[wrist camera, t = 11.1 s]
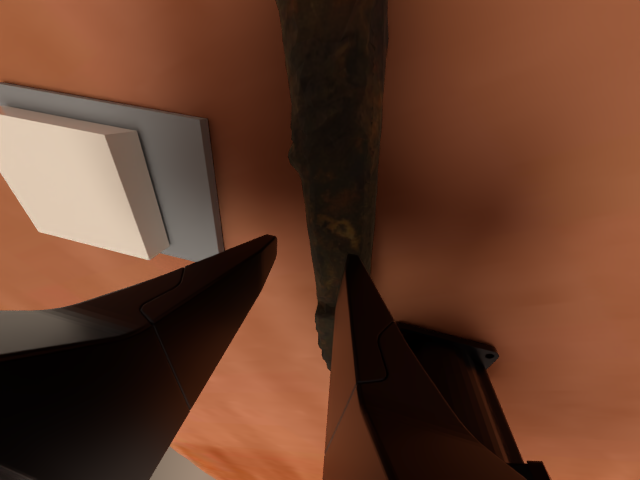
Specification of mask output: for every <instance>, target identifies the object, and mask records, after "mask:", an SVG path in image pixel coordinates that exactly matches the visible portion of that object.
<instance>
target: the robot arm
mask: <svg viewBox="0 0 640 480" xmlns="http://www.w3.org/2000/svg"><path fill="white" fill-rule="evenodd" d="M276 255H277V237H276V236H272V235H268V234H266V235H264V236H261V237H259V238H256V239H253V240H251V241H248V242H246V243H243V244H241V245H238V246H236V247H233V248H231V249H228V250H226V251H223V252H221V253H218V254H215V255H213V256H210V257H208V258H205V259H203V260H200V261H198V262H195V263H193V264H190V265H188V266H185V268H180V269H177V270H175V271H172V272H170V273H167V274H164V275H162V276H159V277H156V278H154V279H151V280H148V281H145V282H142V283H139V284H136V285H133V286H130V287H127V288H124V289H121V290H118V291H115V292H112V293H108V294H105V295H102V296H99V297H96V298H93V299H90V300H87V301H84V302H81V303H77V304H74V305H70V306H66V307H61V308H55V309H48V310H33V311H0V480H149V479H150V477H151V476H152V474H153V472H154V471H155V469H156V467H157V466H158V464H159V462H160V461H161V459H162V457H163V456H164V454H165V452H166V451H167V449H168V447H169V446H170V444H171V442H172V441H173V439H174V437H175V435H176V434H177V432H178V430H179V429H180V427H181V425H182V424H183V422H184V420H185V419H186V417H187V415H188V414H189V412H190V409H191V408H192V407H193V405H194V403H195V402H196V400H197V398H198V397H199V395H200V393H201V391H202V390H203V388H204V386H205V385H206V383H207V381H208V380H209V378H210V376H211V375H212V373H213V371H214V370H215V368H216V366H217V365H218V363H219V361H220V360H221V358H222V356H223V354H224V353H225V351H226V349H227V348H228V346H229V344H230V343H231V341H232V339H233V338H234V336H235V334H236V333H237V331H238V329H239V328H240V326H241V324H242V323H243V321H244V319H245V317H246V316H247V314H248V312H249V311H250V309H251V307H252V306H253V304H254V302H255V301H256V299H257V297H258V296H259V294H260V292H261V290H262V288H263V286H264V284H265V282H266V279H267V277H268V275H269V272H270V270H271V268H272V266H273V263H274V261H275V259H276ZM498 357H499V355H498V353H497V350H496V349H495V348H494V347H492V346H489V345H485V344H481V343H477V342H474V341H470V340H466V339H462V338H458V337H454V336H450V335H446V334H442V333H438V332H435V331H431V330H427V329H423V328H419V327H415V326H411V325H407V324H403V323H399V324H396V323H395V322H394V319H393V318H392V316H391V314H390V312H389V310H388V308H387V307H386V305H385V303H384V301H383V299H382V298H381V296H380V294H379V292H378V290H377V288H376V287H375V285H374V283H373V281H372V279H371V277H370V276H369V274H368V272H367V270H366V268H365V267H364V265H363V263H362V261H361V259H360V257H359V256H358V255H354V254H350V253H349V254H347V258H346V262H345V266H344V270H343V274H342V279H341V284H340V289H339V294H338V298H337V303H336V309H335V320H334V334H333V347H332V361H331V374H330V388H329V401H328V415H327V428H326V442H325V456H324V468H323V480H551V478H550V476H549V474H548V472H547V470H546V468H545V466H544V464H543V462H542V461H527V463H528V464H524V461H523V459H522V457H521V454H520V452H519V449H518V447H517V444H516V442H515V439H514V437H513V435H512V432H511V430H510V427H509V425H508V422H507V420H506V417H505V415H504V413H503V410H502V408H501V405H500V403H499V400H498V398H497V396H496V393H495V391H494V388H493V386H492V383H491V381H490V378H489V376H488V374H487V371H486V369H487V368H488V367H490V366H491V365H492V364H493V363H494V362H495V361H496V360H497V359H498Z"/></svg>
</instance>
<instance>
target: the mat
mask: <svg viewBox="0 0 640 480" xmlns="http://www.w3.org/2000/svg"><path fill="white" fill-rule="evenodd" d="M0 106H9V107H14V108H19V109H24V110H30V111H35V112H40V113H45V114H51V115H56V116H61V117H66V118H71V119H77V120H82V121H87V122H92V123H98V124H103V125H108V126H113V127H119V128H124V129H129V130H134V131H137V134H138V137H139V141H140V144H141V147H142V151H143V154H144V158H145V161H146V165H147V168H148V172H149V175H150V179H151V182H152V186H153V189H154V193H155V196H156V200H157V203H158V207H159V210H160V214H161V217H162V221H163V224H164V228H165V231H166V235H167V238H168V242H169V245H170V246H169V247H168V248H166V249H165V250H164V251H162V252H161V253H162V254H166V255H170V256H174V257H178V258H182V259H186V260H190V261H194V262H198V261H200V260H203V259H205V258H208V257H210V256H213V255H215V254H218V253H221V252H223V251H224V245H223V237H222V229H221V221H220V213H219V205H218V198H217V190H216V182H215V174H214V166H213V158H212V150H211V143H210V135H209V127H208V119H206V118H201V117H195V116H189V115H184V114H178V113H173V112H167V111H161V110H156V109H150V108H144V107H139V106H133V105H128V104H122V103H116V102H111V101H105V100H99V99H94V98H88V97H82V96H77V95H71V94H66V93H60V92H54V91H49V90H43V89H37V88H32V87H26V86H21V85H15V84H9V83H4V82H0Z"/></svg>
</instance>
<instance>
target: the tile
mask: <svg viewBox="0 0 640 480" xmlns="http://www.w3.org/2000/svg"><path fill="white" fill-rule="evenodd" d="M0 173H1V174H2V176H3V177H4V179H5V180H6V182H7V184H8V185H9V187H10V188H11V190H12V191H13V193H14V194H15V196H16V197H17V199H18V201H19V202H20V204H21V205H22V207H23V208H24V210H25V211H26V213H27V214H28V216H29V218H30V219H31V221H32V222H33V224H34V225H35V227H36V228H37V230H38V231H39V232H42V233H45V234H49V235H53V236H57V237H61V238H65V239H69V240H73V241H77V242H80V243H84V244H88V245H92V246H96V247H100V248H104V249H108V250H112V251H115V252H119V253H123V254H127V255H131V256H135V257H139V258H143V259H147V260H151V259H152V258H154V257H155V256H156V255H158V254H159V253H161V252H162V251H164V250H165V249H166V248H168V247H169V246H170V245H169V242H168V238H167V235H166V231H165V228H164V224H163V221H162V217H161V214H160V210H159V207H158V203H157V200H156V196H155V193H154V189H153V186H152V182H151V179H150V175H149V172H148V168H147V165H146V161H145V158H144V154H143V151H142V147H141V144H140V141H139V137H138V134H137V131H134V130H129V129H124V128H119V127H113V126H108V125H103V124H98V123H92V122H87V121H82V120H77V119H71V118H66V117H61V116H56V115H51V114H45V113H40V112H35V111H30V110H24V109H19V108H14V107H9V106H0Z"/></svg>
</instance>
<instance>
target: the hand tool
mask: <svg viewBox="0 0 640 480" xmlns="http://www.w3.org/2000/svg"><path fill="white" fill-rule="evenodd" d="M275 1H276V4H277V7H278V10H279V15H280V21H281V28H282V38H283V45H284V52H285V66H286V70H287V74H288V81H289V89H290V96H291V103H292V113H291V130H292V138H291V139H292V141H293V143H292V146H291V148H290V150H289V153H288V158H289V161H290V164H291V165H292V166H293V167H294V168H295V169H296V170H297V172H298V173H299V175H300V178H301V181H302V188H303V196H304V203H305V210H306V220H307V227H308V234H309V239H310V246H311V255H312V261H313V267H314V274H315V281H316V289H317V299H318V306H317V309H316V313H315V322H316V330H317V332H318V345H319V347H320V348H321V349H322V357H323V359H324V360H325V362H326V363H327V368H328V369H329V370H330V371H331V361H332V347H333V334H334V320H335V309H336V303H337V298H338V294H339V289H340V284H341V279H342V274H343V270H344V266H345V262H346V258H347V254H349V253H350V254H354V255H358V256H359V257H360V259H361V261H362V263H363V265H364V267H365V268H366V270H367V272H368V274H369V276H370V271H371V256H372V246H373V236H374V226H375V210H376V197H377V183H378V163H379V150H380V137H381V127H382V99H383V91H384V81H385V67H386V56H387V49H388V39H389V38H388V14H387V11H388V0H275Z"/></svg>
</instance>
